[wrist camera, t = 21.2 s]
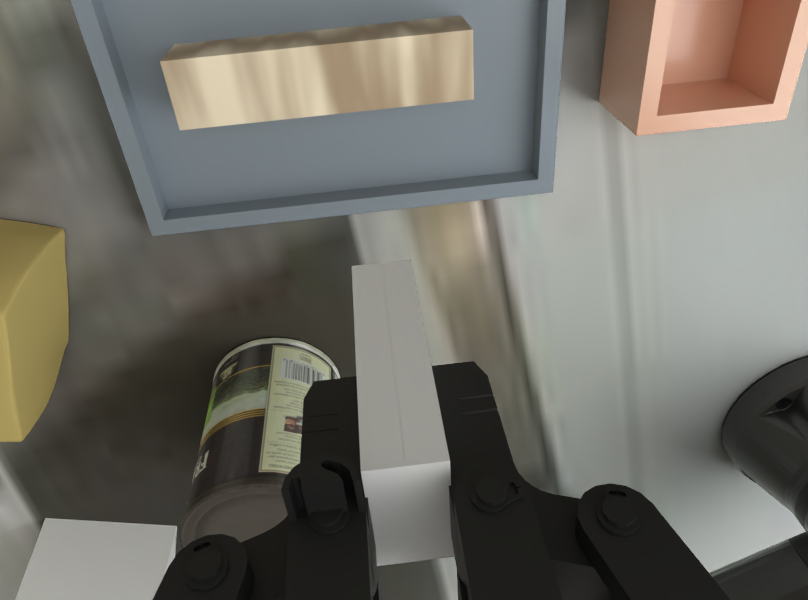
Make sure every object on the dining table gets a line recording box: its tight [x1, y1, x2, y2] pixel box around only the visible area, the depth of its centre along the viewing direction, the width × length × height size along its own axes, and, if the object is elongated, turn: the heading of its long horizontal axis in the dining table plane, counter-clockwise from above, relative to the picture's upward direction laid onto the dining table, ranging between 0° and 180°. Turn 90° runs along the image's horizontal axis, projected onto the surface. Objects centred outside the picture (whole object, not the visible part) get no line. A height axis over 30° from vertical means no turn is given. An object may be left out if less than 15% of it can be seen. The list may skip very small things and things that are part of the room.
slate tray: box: [70, 0, 566, 236], centre depth 36 cm, size 26×18×2 cm
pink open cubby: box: [599, 0, 808, 136], centre depth 35 cm, size 9×9×6 cm
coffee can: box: [179, 337, 340, 549], centre depth 45 cm, size 10×10×14 cm
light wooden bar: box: [160, 16, 474, 130], centre depth 35 cm, size 8×4×16 cm
